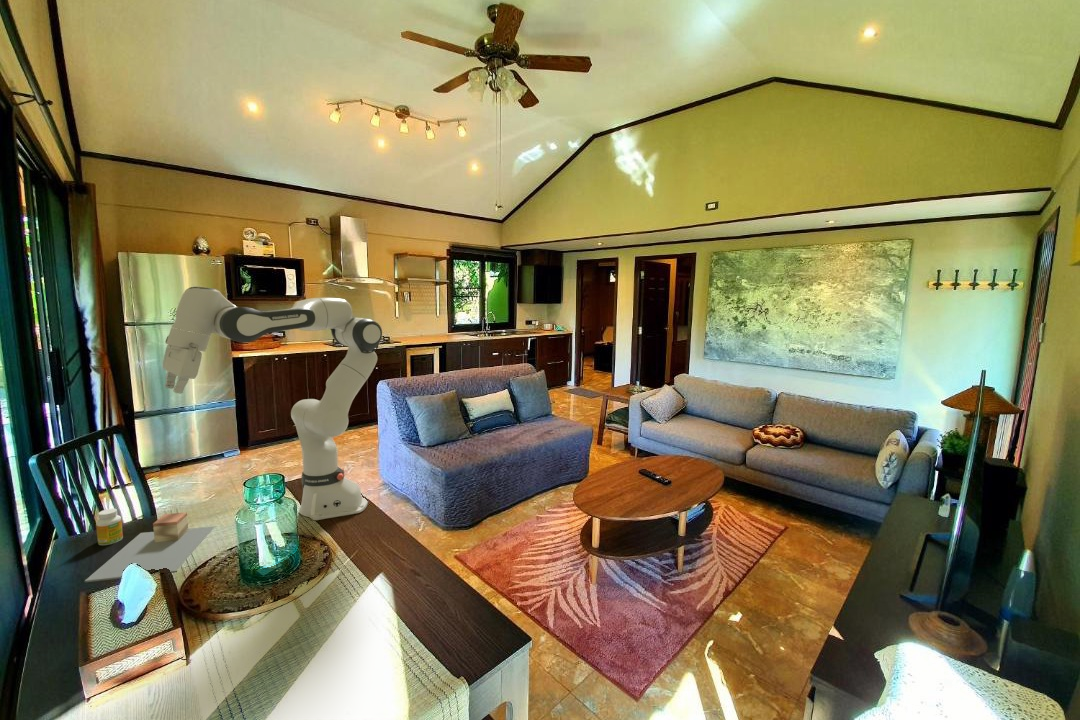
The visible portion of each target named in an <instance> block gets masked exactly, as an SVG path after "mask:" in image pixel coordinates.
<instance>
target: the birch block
mask: <svg viewBox="0 0 1080 720" xmlns="http://www.w3.org/2000/svg"><path fill="white" fill-rule="evenodd" d="M152 526H153V527H152V528H153V532H154V539H155V542H165V541H175V540H179V539H180V538H181V537H182V536H183V535H184V534H185V533H186V532H187V531H188V529H189V522H188V512H185V511H184V512H174V513H164V514H162V516H160V517H159V518H158V519H157V520H156V521H154V522H153V523H152Z"/></svg>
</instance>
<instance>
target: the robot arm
mask: <svg viewBox="0 0 1080 720" xmlns="http://www.w3.org/2000/svg"><path fill="white" fill-rule="evenodd" d="M176 308H177V309H176V310H175V311H176V312H175V321H174V322H173V324H172V325H171V327H170V330H169V333H168V335H167V337H166V339H165V344H166V347H165V351H164V356H163V361H162V370H165V371H166V379H165V384H164V388H167V389H171V390H172V389H173V392H174V393H175V394H181V395H182V394H183V393H184V390H185V388H186V385H187V384H188V383H189V380H190V379H191V380H194V379H196V378H197V376H198V373H199V369H200V366H201V361H202V358H203V357H202V352H207V349H208V345H209V342H210V338H211V335H212V334H215V335H217V336H219V337H221V338H224V339H228V340H232V341H235V342H237V343H242V344H243V343H245V344H246V343H251V342H254V341H257V340H258V339H260V338H262V337H264V336H266V335H268V334H270V333H277V332H282V331H283V332H284V331H289V330H299V331H306V332H307V331H308V332H311V331H312V332H313V331H314V332H316V331H325V330H330V332H331V336H332V338H333V339H334V341H335V342H336V343H337V344H339V345H341V346H344V347H347V352H346V354H345V357H344V358H343V359H342V360H341V362H340V363H339V364H338V366H337V367H336V368H335V369H334V370H333V372H332V373H331V374H330V376H328V378H327V380H326V382H325V391H324V393H323V395H322V398H321V399H320V400H318V399H315V398H307V399H306V398H305V399H301V400H299V401H297V402H296V403H295V404H294V405H293V406H292V408H291V410H290V416H291V420H292V421H293V423H294V426H295V428H296V432H297V435H298V436H297V437H298V440H299V442H300V448H301V453H302V454H301V455H302V470H303V471H302V473H301V485H302V487H301V488H302V498H301V503H300V508H299V510H298V512H299V514H300V515H302V516H304V517H308V518H310V519H311V520H313V521H319V520H325V519H332V518H337V517H344V516H350V515H354V514H360V513H362V512H363V511H364V510H366V508H367V506H368V504H369V498H368V496H367V495H366V494H365V493H362V491H361V488H360V486H359V484H358V483H356V482H355V481H353V480H351V479H349V478H347V477H345V467H342V468H341V467H339V466H338V465H339V463H338V462H339V461H338V458H339V457H338V456H339V455H338V447H337V444H336V442H335V440H334V437H339V436H341V435H342V434H344V432H346V430H347V428H348V426H349V422H350V421H349V411H350V408H351V406H352V403H353V401H354V399H355V397H356V396H357V395H358V393H359V392H360V390H361V389H362V387H363V386H364V385H365V383H366V382H367V380H368V379H369V377H370V376H371V374H372V372H373V370H374V368H375V367H376V364H377V362H378V355H377V353H376V352H375V351H377V350H378V348H379V344H380V342H381V341H382V338H383V337H382V336H383V330H382V326H381V325H380V324H379V323H378V322H376V321H375V320H372V319H371V318H363V317H356V316H355V315H354V314H353V313H354V311H353V307H352V304H351V303H349V302H348V300H346V299H345V298H338V297H311V298H307V299H302V300H298V301H296V302H294V303H293V305H292V307H291V308H287V309H277V310H276V309H275V310H267V311H266V310H265V311H263V310H259V309H255V308H251V307H247V306H236V305H235V304H233V302H231V301H230V300H228V299H227V298H226V297H225V296H224V295H223V294H222V292H221V291H220V290H219V289H215V288H212V287H211V288H210V287H204V286H191V287H188V288H187V289H185V290H184V291H183V293H182V295H181V297H180V299H179V302H178V306H177V307H176ZM176 379H177V381H176ZM361 494H362V495H363V496H364V497H366V498H367V499H368V501H367V500H366V499H365V498H363V497H362V495H361Z"/></svg>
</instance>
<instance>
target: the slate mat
mask: <svg viewBox="0 0 1080 720" xmlns="http://www.w3.org/2000/svg"><path fill="white" fill-rule="evenodd" d="M215 528H216V526H204V527H193V528H192V527H191V528H188V531H187V532H186V533H185V534H184V535H183V536H182V537H181V538H180V539H179V540H175V541H165V542H155V539H154V531H149V532H148V531H146V532H145V531H144V532H140V533H139V534H138V535H136V536H135V537H134V538H133V539H132V540H131V541H130V542H128V543H127V544H126V545H124V547H123V548H121V549H120V550H119V551H118V552H117V553H116V554H114V555H112V557H110V559H108V560H107V561H106V562H105V563H104V564H103V565H101V566H100V567H99V568H98V569H97V570H95V571H94V572H93V573H92V574H91V575H89V577H87V578H86V579H85V580H84V583H91V582H92V583H93V582H94V583H95V582H101V581H103V582H104V581H109V580H118V579H119V580H120V579H122V578H121V576H122V572H123V570H124V569H125V568H126V567H127V566H128V565H129V564H131V563H137V564H138V565H140V566H141V567H142V568H144V569H146V570H151V569H155V570H159V569H163V568H167V569H169V570H170V572H171V573H170V574H172V573H173V574H174V573H177V572H178V569H179V568H180V567H181V566H182V565H183V564H184V563H185V561H187V559H188V558H189V557H190V556H191V555H192V553H194V551H195V550H197V548H198V547H199V546H200V545H201V544H202V542H203V541H204V540H205V538H207V537H208V535H209V534H210V533H211V532H212V531H213V529H215Z"/></svg>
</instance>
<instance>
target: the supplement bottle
mask: <svg viewBox="0 0 1080 720" xmlns="http://www.w3.org/2000/svg"><path fill="white" fill-rule="evenodd" d="M95 523H96V524H95V528H96V536H97V544H98V545H99V546H108V545H112V544H116V543H118V542H119V541H122V540H123V538H124V534H123V524H122V523H123V522H122V516H120V515H118V509H117V508H105V509H103V510H101V511H99V512H98V520H96V522H95Z"/></svg>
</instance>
